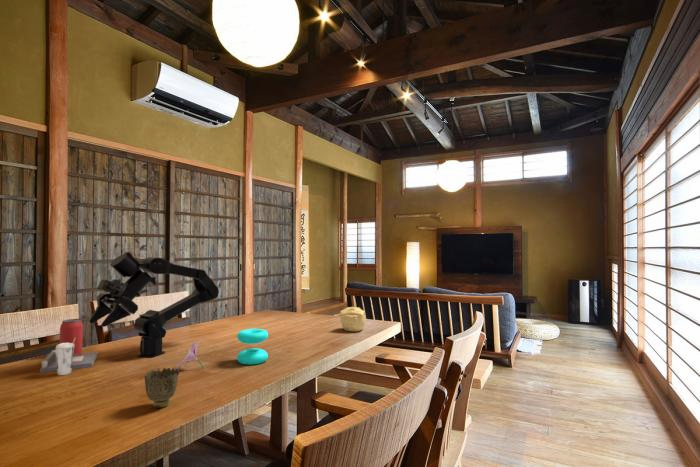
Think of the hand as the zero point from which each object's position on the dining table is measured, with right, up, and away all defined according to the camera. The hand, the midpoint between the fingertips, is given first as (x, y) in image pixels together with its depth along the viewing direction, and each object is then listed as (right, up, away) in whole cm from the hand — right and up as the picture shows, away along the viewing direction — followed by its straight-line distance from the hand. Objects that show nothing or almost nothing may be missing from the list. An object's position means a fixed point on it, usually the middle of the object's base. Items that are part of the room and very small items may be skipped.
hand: (96, 324), depth 124 cm
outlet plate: (-10, -13, +3) cm, 17 cm away
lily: (+31, -14, -3) cm, 34 cm away
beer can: (-18, -14, +13) cm, 26 cm away
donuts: (+48, -14, +6) cm, 50 cm away
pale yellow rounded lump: (+82, -16, +56) cm, 100 cm away
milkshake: (-5, -13, -7) cm, 16 cm away
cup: (+35, -13, -31) cm, 48 cm away
